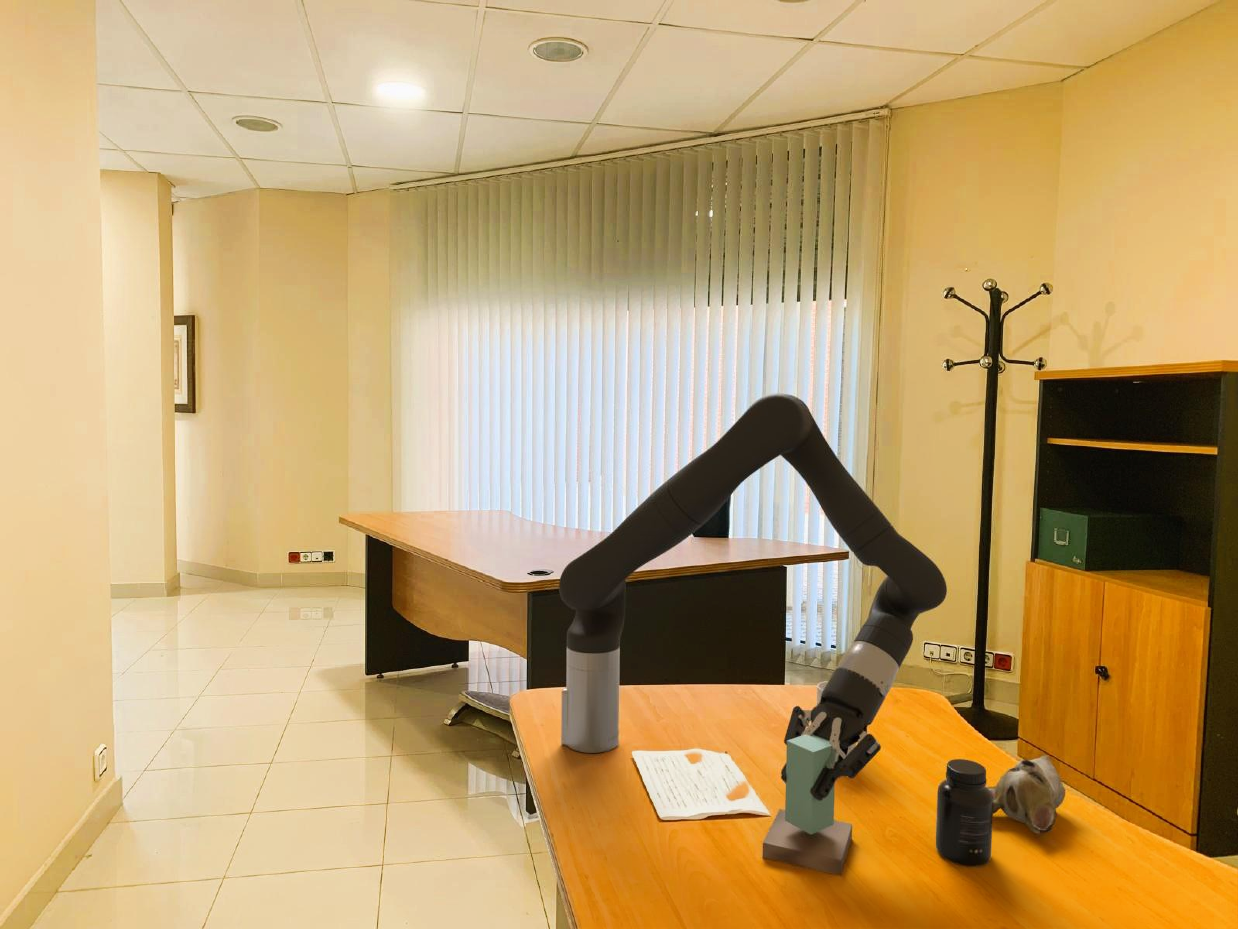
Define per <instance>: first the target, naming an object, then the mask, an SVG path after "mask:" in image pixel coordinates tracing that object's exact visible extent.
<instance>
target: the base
mask: <svg viewBox="0 0 1238 929" xmlns="http://www.w3.org/2000/svg"><path fill="white" fill-rule="evenodd" d="M852 840H853V823H849V822H845V821H839V820H835V819H834V825H832V826H829V827H827V828H825V829H823V830H820V831H818V832H816V833H814V834H812V835H811V834H809V833H807V832H805V831H803V830H802V829H800V828H798V827H796V826H794V825H792V824H790V823H789V822H787V821H785V809H781V808H779V810H778V812H777V814H776V815H775V818H774V820H773V822H772V824H771V826H770V828H769V829H768V832H767V833H766V835H765V838H764V840H763V842H762V858H764V859H768V860H772V861H776V862H781V863H785V864H790V865H792V866H793V865H794V866H799V867H803V868H807V869H811V870H815V871H816V870H817V871H820V872H824V873H829V874H833V875H837V876H842V873H843V870H844V867H845V866H844V865H845V863H846V860H847V855H848V852H849V849H850V847H851V843H852V842H851V841H852Z"/></svg>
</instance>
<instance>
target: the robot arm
mask: <svg viewBox="0 0 1238 929" xmlns="http://www.w3.org/2000/svg"><path fill="white" fill-rule="evenodd" d="M779 456H781V457H782V458H784V460H785V461H786V462H788V463H789V465H790V466H792V468H794V470H795V471H796V472H797V473H798V474H799V475H800V477H801V479H803V480H804V481H805V484H806V485H807V486H808V487H809V489H810V490H811V492H812V493H813V495H814V497H815V498H816V501H817V502H818V504H819V505H820V508H821V509H822V511H823V513H824V514H825V517H826V518H827V520H828V522H829V523H830V524H831V526H832V527H833V529H834V531H835V532H836V533H837V534H838V536H839V537H840V539H842V541H843V542H844V543H845V545H846V546H847V547H848V549H849V550H850V551H851V552H852V553H853V554H854V556H855V558H856V559H857V560H858V561H860V563H862V565H864V566H867V567H876V568H878V569H880V570H881V571H882V572H883V574H885V575H886V576H887V577H885V578H884V579H883V581H882V582H881V584H879V585H880V586H879V587H878V589H877V590H876V592H875V595H874V597H873V601H872V602H871V605H870V606H871V607H870V608H869V612H868V617H867V619H866V621H865V622H864V623H863V625H862V626H861V628H860V630H859V631H858V633H857V635H856V636H855V638H854V640H853V642H852V644H851V645H850V647H849V648H848V649H847V650H846V651H845V653H844V654H843V656H842V657H841V659H840V660H839V663H838V664H837V665H836V668H835V670H834V671H833V673H832V675H831V676H830V678H829V680H827V681H828V683H827V685H826V686H825V688H824V690H823V692H822V695H821V700H820V703H819V704H818V705H817V704H816V705H815V706H814V707H813V708H812V709H811V710H809V709H802V708H801V706H799V705H795V706H794V707H793V708H792V712H791V715H790V718H789V722H788V726H787V728H786V731H785V735H784V740H783V743H784V744H785V746H787V740H790V739H793V738H796V737H799V736H802V735H805V734H806V735H809V736H811V735H815V736H818V737H820V738H823V739H825V740H827V741H829V744H831V745H832V747H831V754H830V755H829V757H828V759H827V762H826V768H824V767H823V769H822V771H821V773H820V774H819V776H818V778H817V780H816V782H815V783H814V785H813V787H812V788H811V790H810V793H811V794H812V795H813V796H814V797H815V798H816V799H817V800H819V801H821V800H822V799H823V798H826V797H827V796H828V794H829V792H830V791H831V788H832V787H833V785H834V783H835V784H836V782H837V779H839V778H841V777H847V778H849V779H851V780H852V779H855V777H856V776H857V775H858V774H859V773H860V772H861V771H862V770H863V769H864V768H865V767H866V766H867V764H869V762H870V761H871V760H872V759H873V758H874V757H875V756H876V755H877V754H878V753H879V752H880V751H881V749H882V746H881V744H880V743H879V741H878V740H877V738H875V737H874V735H873V734H872V733H868V726H870V725H871V724H872V723H873V721H874V720H875V718H876V716H877V714H878V713H879V711H880V709H881V707H882V705H883V703H884V701H885V700H886V698H887V696H888V693H889V692H890V690H891V689H892V687H893V685H894V682H895V680H896V678H897V674H898V672H899V669H900V668H901V666H902V664H903V662H904V661H905V659H906V657H907V655H908V653H909V651H910V649H911V647H912V645H913V641H914V634H913V631H912V627H913V624H914V623H915V621H916V620H917V618H918V617H919V615H920V614H923V613H925V612H928V611H931V610H933V609H935V608H938V607H939V606H940V605H941V604H943V603H944V601H945V599H946V596H947V593H948V592H947V591H948V588H947V586H948V585H947V582H946V579H945V577H944V574H943V573H942V571H941V569H940V568H939V567H938V565H936V563H935V562H934V561H933V560H932V558H931V559H930V558H929V556H928V555H926V554H925V553H924V552H923V551H921V549H919V548H918V547H917V546H915V545H914V544H913V543H911V541H909V540H907V539H906V538H905V537H903V536H902V535H901V534H900V533H898V531H897V530H896V528H894V526H893V525H892V523H891V522H890V521H889V520H888V519H887V517H886V516H885V515H884V514H883V512H882V511H881V509H879V507H878V506H877V505H876V504H875V503H874V501H873V500H872V499H871V498H870V497H869V495H868V494H867V492H866V491H864V489H863V488H862V487H861V486H860V484H859V483H858V482H857V481H856V479H855V478H854V477H853V476H852V475H851V474H850V472H849V471H848V470H847V469H846V468H845V466H844V464H842V462H841V461H840V459H839V458H838V456H837V454H836V453H835V452H834V450H833V449H832V447H831V446H830V444H829V443H828V440H826V438H825V437H824V434H823V433H822V431H821V428H820V427H819V425H818V424H817V422H816V420H815V418H814V417H813V414H812V412H811V411H810V409H809V407H808V406H807V404H806V403H805V402H804V401H803V400H802V399H801V398H799V397H796V396H795V395H792V394H789V393H779V392H778V393H777V392H776V393H769V394H766V395H764V396H762V397H760V398H758V399H757V400H756V401H754V402H753V403H751V405H750V406H749V407H748V409H747V410H745V412H744V413H743V414H742V415H741V417H739V418H738V420H737V421H735V423H734V424H733V425H731V427H730V428H729V429H728V430H727V431H726V432H725V433H724V434H723V435H722V436H721V437H720V439H718V440H717V441H715V443H714V444H713V445H711V447H709V448H708V449H706V450H705V451H704V452H703V453H701V454H700V455H698V456H696V458H693V459H692V460H691V461H690V462H689V463H688V464H686V465H685V466H684V467H682V468H681V469H680V470H678V471H677V472H676V473H675V474H673V475H672V476H671V477H669V478H668V479H667V480H666V481H665V482H664V483H662V485H660V486H659V487H658V488H657V489H655V490H654V491H653V492H652V493H651V494H650V495H649V496H647V498H646V499H645V500H644V501H643V502H642V503H640V504H639V505H638V507H637V508H635V509H634V510H633V511H632V512H631V513H630V514H629V515H628V516H627V517H626V518H625V519H624V520H623V521H622V522H621V523H620V524H619V525H618V526H617V527H616V528H615V529H614V530H613V531H612V532H611V533H609V535H607V536H606V537H605V538H604V539H602V540H601V541H599V543H597V544H595V545H593V547H591V548H590V549H589V550H587V551H586V552H583V553H582V554H581V555H580V556H578V557H577V558H575V559H573V560H572V561H570V562H569V563H568V564H567V565H566V566H565V567H564V568H563V571H562V572H561V575H560V576H559V577H560V578H559V582H558V591H559V595H560V598H561V600H562V602H563V603H564V604H565V606H567V607H568V608H570V609H572V610H574V611H575V616H574V617H573V620H572V623H571V624H570V626H569V627H568V629H567V632H566V681H565V682H566V687H564V688H563V689H562V691H561V726H560V731H561V736H560V737H561V740H560V743H561V745H565V746H566V747H568V748H569V749H572V750H573V751H576V752H582V753H588V754H593V753H594V754H595V753H604V752H605V753H606V752H608V751H610V750H614V749H615V748H616V747H617V746H618V745H619V741H620V739H619V737H620V736H619V735H620V728H619V724H620V654H621V652H620V648H621V647H620V645H621V642H620V641H621V635H622V633H623V630H624V626H625V625H624V624H625V616H626V598H627V597H626V592H627V590H626V589H627V585H626V584H627V581H626V579H627V578H629V577H630V576H631V575H632V574H633V573H634V572H635V571H637V570H638V569H639V568H641V567H643V566H644V565H645V564H647V563H650V562H651V561H653V560H655V559H656V558H658V557H660V556H661V555H663V554H665V553H667V552H668V551H670V550H672V549H673V548H675V547H677V546H678V545H679V544H680V543H682V542H683V541H685V540H686V539H687V538H689V537H691V535H692V534H694V533H695V532H696V531H698V530H699V529H700V528H702V526H703V525H705V524H706V523H707V522H708V521H709V520H710V519H712V517H713V516H715V515H716V513H717V512H718V511H719V510H720V509H721V508H722V507H723V505H724V504H725V503H726V502H727V501H728V499H729V498H730V497H731V496H732V495H733V493H734V492H735V491H736V490H737V489H738V488H739V486H740V485H741V484H742V483H743V482H744V481H745V480H746V479H748V478H749V477H750V476H751V475H753V474H754V473H756V472H757V471H758V470H760V469H762V468H763V467H764V466H765V465H767V464H769V463H770V462H772V461H774V460H775V459H776V458H778V457H779ZM855 743H856V746H855V747H854V749H853V750H852V751H851V752H850V748H851V745H853V744H855ZM849 752H850V753H849ZM780 775H781V776H780V779H781V781H782V782H784V784H786V779H787V775H786V763H784V765H783V767H782V769H781V772H780Z"/></svg>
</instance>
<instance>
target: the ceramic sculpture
mask: <svg viewBox="0 0 1238 929" xmlns="http://www.w3.org/2000/svg"><path fill="white" fill-rule="evenodd" d="M986 787H987V788H988V789H989V790H990V792H991V793H992V795H993V815H994V814H996V813H997V812H998V811H999V810H1002V812H1003V813H1004V814H1005V815H1006V816H1007V817H1008V818H1010V819H1013V820H1015V821H1018V822H1021V823H1023V824H1026V826H1028V829H1030V830H1031V831H1032V832H1033V833H1035V835H1044V834H1047V833H1049V832H1050V831H1051V830H1052V829H1053V827H1054V825H1055V823H1056V819H1057V816H1058V812H1057V810H1056V809H1058V808H1059V807H1060V806H1061V804H1063V802H1064V801H1065V797H1066V788H1065V787H1064V785H1063V782H1062V779H1061V776H1060V775H1059V772H1057V770H1056V768H1055V766H1054V765H1053V764H1052V762H1051V760H1050V759H1049V757H1048V756H1047V755H1042V756H1040V757H1038V758H1034V759H1030V760H1028V759H1023V760H1019V761H1018V762H1017V763H1016V764H1015V765H1014V766H1013V767H1011V768H1009V769H1007V771H1005V773H1004V774H1002V775H1001V776H1000V777H999V780H998V782H997V783H996V785H994V786H986Z"/></svg>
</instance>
